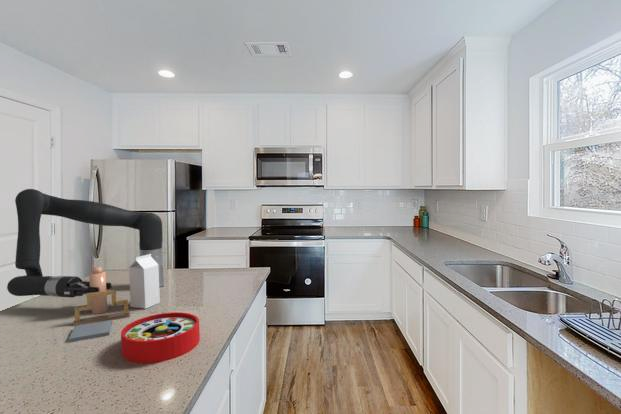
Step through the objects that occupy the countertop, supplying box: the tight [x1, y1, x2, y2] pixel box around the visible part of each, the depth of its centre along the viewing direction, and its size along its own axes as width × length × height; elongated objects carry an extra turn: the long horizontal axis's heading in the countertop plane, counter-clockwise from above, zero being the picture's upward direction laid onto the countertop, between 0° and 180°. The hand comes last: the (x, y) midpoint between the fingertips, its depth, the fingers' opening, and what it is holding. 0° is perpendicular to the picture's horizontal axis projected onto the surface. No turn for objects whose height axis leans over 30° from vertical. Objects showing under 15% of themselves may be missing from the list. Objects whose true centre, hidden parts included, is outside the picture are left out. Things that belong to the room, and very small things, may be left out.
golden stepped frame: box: [72, 289, 131, 327], centre depth 113 cm, size 16×3×10 cm, turn 117°
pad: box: [68, 320, 113, 343], centre depth 103 cm, size 10×10×1 cm
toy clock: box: [120, 311, 201, 364], centre depth 94 cm, size 20×6×20 cm
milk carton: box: [128, 254, 161, 310], centre depth 126 cm, size 7×7×19 cm
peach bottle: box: [88, 266, 108, 315], centre depth 121 cm, size 5×5×16 cm
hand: (104, 288), depth 120 cm, fingers closed on peach bottle, 5 cm apart
